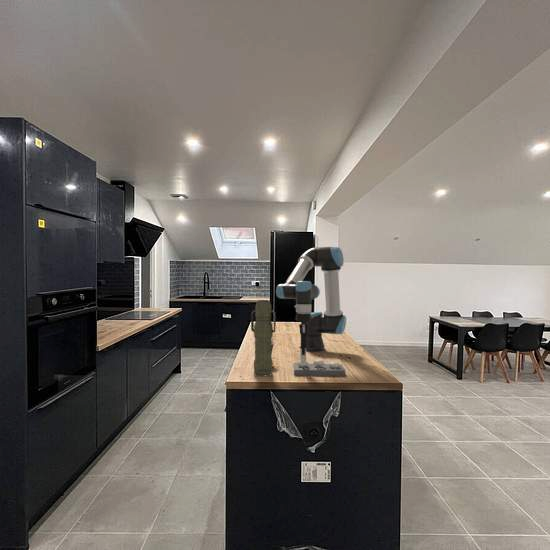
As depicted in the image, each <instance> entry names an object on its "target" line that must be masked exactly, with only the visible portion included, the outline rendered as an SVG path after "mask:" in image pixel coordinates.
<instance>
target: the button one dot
mask: <svg viewBox="0 0 550 550" xmlns="http://www.w3.org/2000/svg"><path fill="white" fill-rule="evenodd" d="M328 364H329V367H331V368H339V364H340V362H339V361H329V363H328Z"/></svg>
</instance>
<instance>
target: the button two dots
mask: <svg viewBox="0 0 550 550" xmlns="http://www.w3.org/2000/svg"><path fill="white" fill-rule="evenodd" d="M297 364H298V366H301V367H302V368H306V366H308V364H309V361H308V360H306V362H302V361H300V360H298V361H297Z"/></svg>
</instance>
